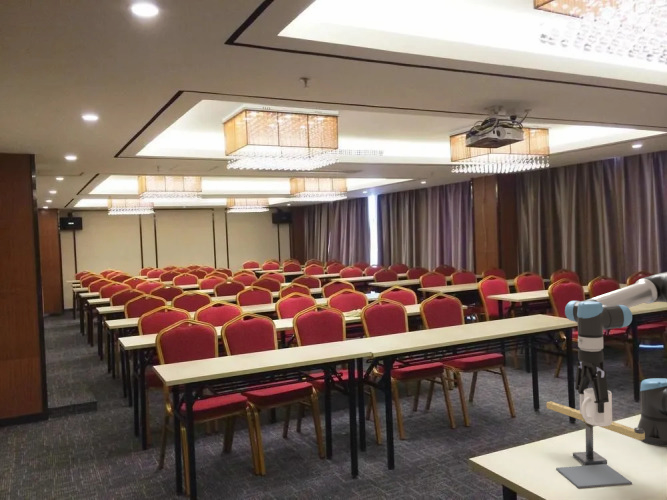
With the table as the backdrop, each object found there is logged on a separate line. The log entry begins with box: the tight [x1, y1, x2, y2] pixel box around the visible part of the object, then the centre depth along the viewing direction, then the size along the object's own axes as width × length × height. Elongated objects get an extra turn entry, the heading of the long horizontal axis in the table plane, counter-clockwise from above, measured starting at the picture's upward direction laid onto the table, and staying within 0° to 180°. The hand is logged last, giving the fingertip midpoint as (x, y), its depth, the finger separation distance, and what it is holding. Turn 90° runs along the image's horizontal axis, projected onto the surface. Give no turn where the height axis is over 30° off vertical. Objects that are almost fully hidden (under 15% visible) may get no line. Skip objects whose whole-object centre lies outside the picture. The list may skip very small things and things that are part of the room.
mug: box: [581, 387, 613, 427], centre depth 181 cm, size 12×8×10 cm
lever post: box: [572, 423, 608, 466], centre depth 194 cm, size 8×8×14 cm
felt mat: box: [555, 463, 633, 489], centre depth 182 cm, size 18×14×1 cm
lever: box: [546, 401, 645, 441], centre depth 193 cm, size 38×4×3 cm, turn 25°
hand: (591, 417), depth 181 cm, fingers closed on mug, 8 cm apart
